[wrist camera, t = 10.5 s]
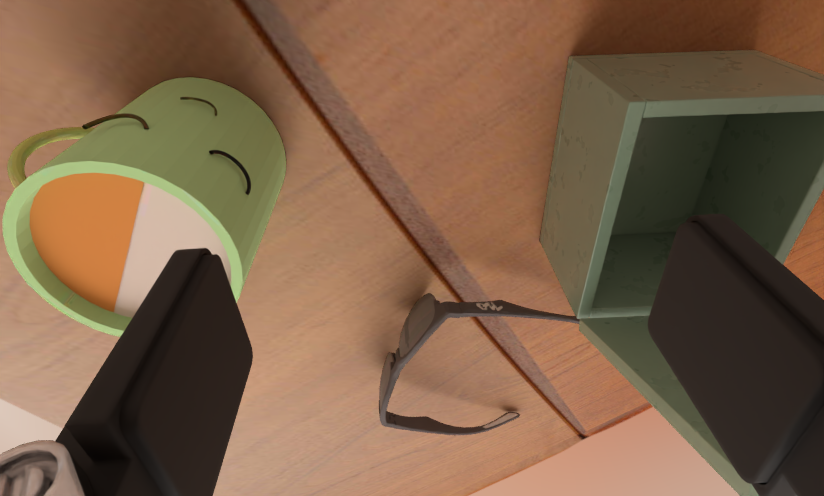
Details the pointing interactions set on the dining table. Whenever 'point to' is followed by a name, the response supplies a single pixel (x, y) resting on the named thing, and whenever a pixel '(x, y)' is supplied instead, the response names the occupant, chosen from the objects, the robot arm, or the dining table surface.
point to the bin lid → (659, 386)
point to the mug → (143, 198)
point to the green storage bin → (675, 164)
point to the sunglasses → (417, 332)
